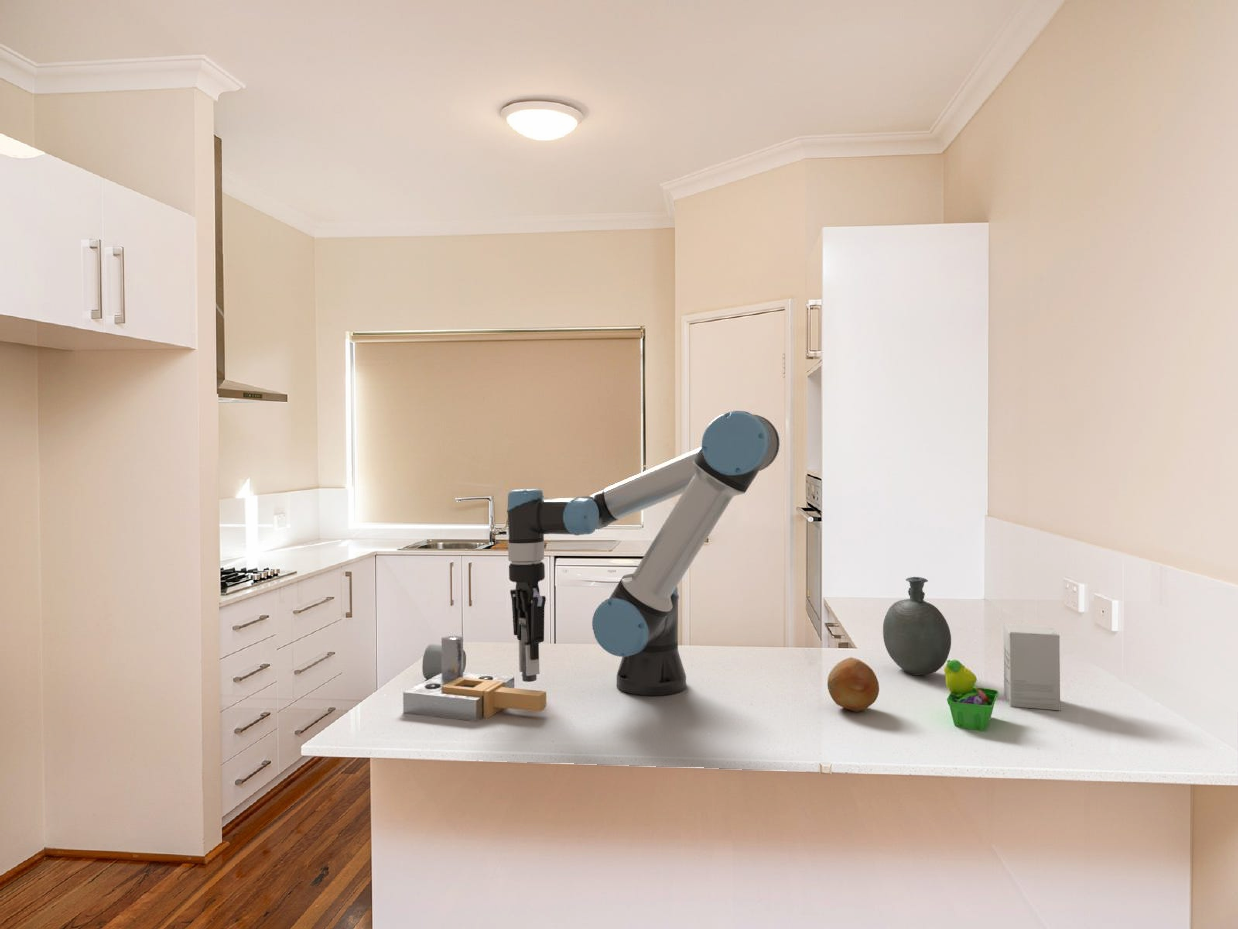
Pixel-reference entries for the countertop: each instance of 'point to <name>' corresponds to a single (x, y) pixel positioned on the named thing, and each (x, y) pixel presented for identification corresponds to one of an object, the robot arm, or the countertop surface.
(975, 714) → the fruit basket
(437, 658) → the ceramic mug
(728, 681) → the countertop surface
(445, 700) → the grey latch block
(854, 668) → the onion
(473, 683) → the bracket
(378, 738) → the countertop surface
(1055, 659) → the supplement box
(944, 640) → the flask
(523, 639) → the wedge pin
